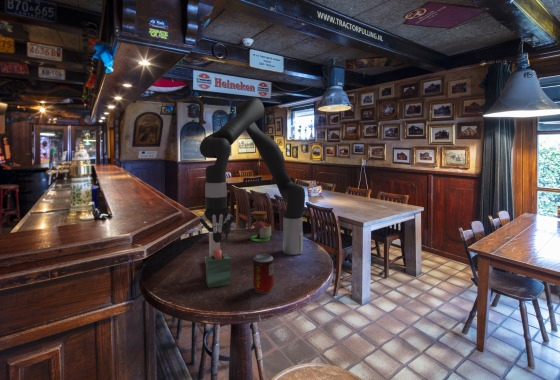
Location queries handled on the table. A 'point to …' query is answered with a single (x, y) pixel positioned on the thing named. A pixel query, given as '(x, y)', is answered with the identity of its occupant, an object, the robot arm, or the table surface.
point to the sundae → (226, 231)
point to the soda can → (263, 273)
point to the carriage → (212, 244)
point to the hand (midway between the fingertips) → (217, 242)
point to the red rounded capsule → (217, 254)
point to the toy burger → (261, 227)
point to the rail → (218, 271)
